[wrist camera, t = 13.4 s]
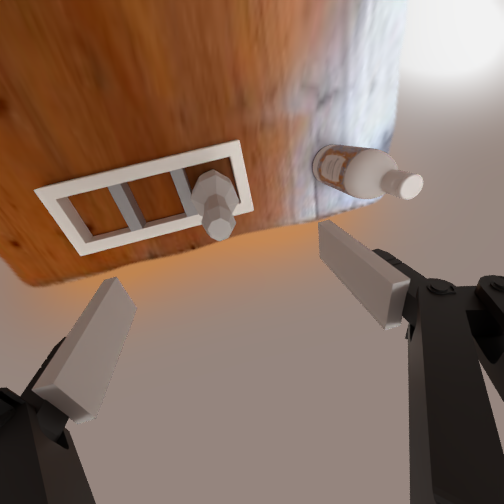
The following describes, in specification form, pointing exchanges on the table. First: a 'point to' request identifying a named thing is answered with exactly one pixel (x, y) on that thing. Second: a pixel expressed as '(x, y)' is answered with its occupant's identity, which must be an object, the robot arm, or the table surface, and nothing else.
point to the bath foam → (364, 173)
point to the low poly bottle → (215, 203)
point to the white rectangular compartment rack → (120, 191)
